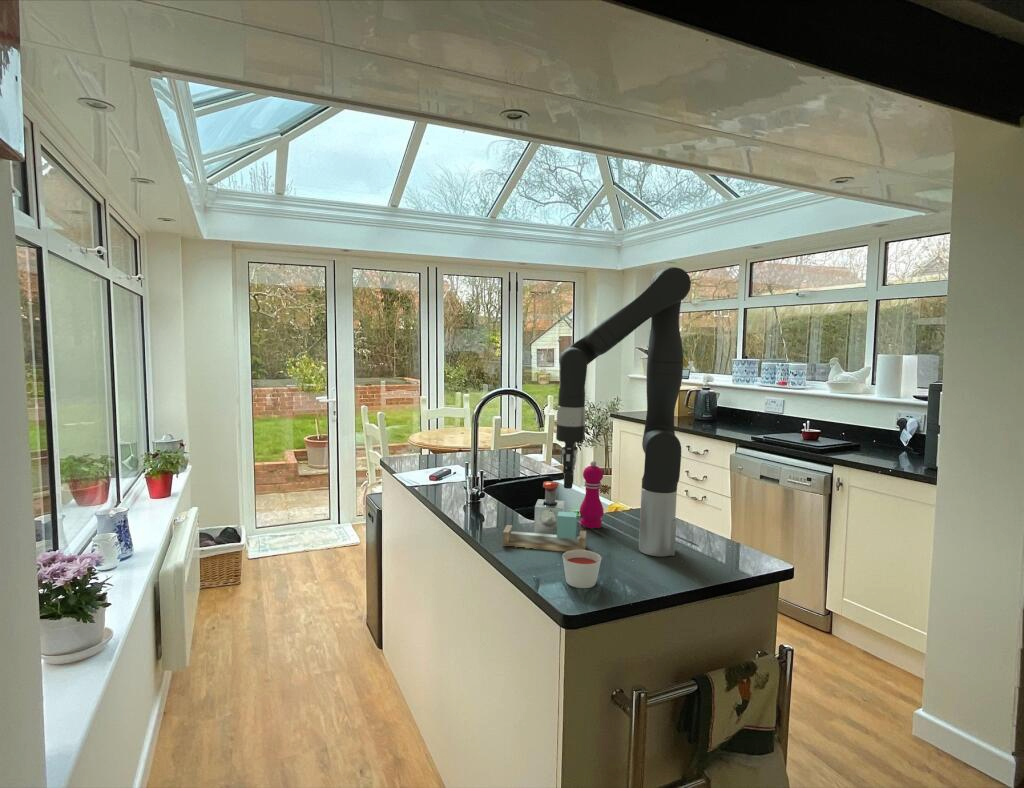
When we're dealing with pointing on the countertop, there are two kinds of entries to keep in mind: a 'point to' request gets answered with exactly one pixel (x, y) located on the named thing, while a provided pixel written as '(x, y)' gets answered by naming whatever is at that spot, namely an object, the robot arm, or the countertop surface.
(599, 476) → the pepper mill
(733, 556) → the countertop surface
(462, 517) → the countertop surface
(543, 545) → the rail
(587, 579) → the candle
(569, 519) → the teal block
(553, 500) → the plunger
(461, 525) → the countertop surface
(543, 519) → the gauge cabinet
